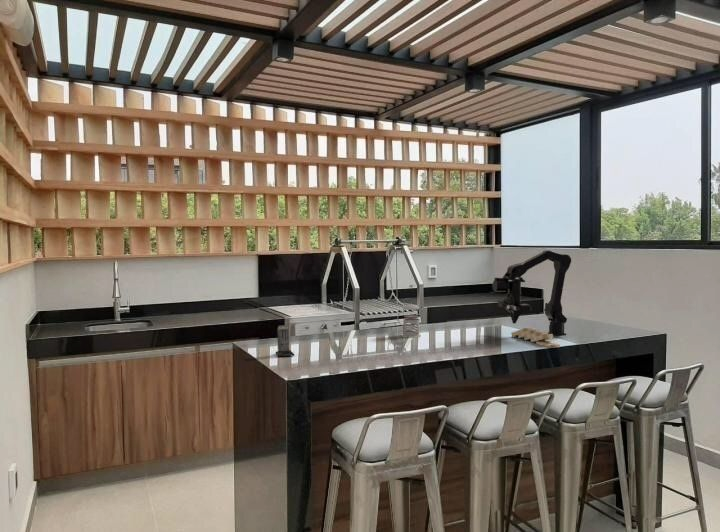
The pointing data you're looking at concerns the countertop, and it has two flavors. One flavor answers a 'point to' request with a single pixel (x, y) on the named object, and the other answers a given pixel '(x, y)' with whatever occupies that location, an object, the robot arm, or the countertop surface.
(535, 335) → the domino
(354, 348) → the countertop surface
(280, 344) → the gray block on base
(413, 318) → the french press
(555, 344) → the domino
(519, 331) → the domino
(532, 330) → the domino
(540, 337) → the domino
